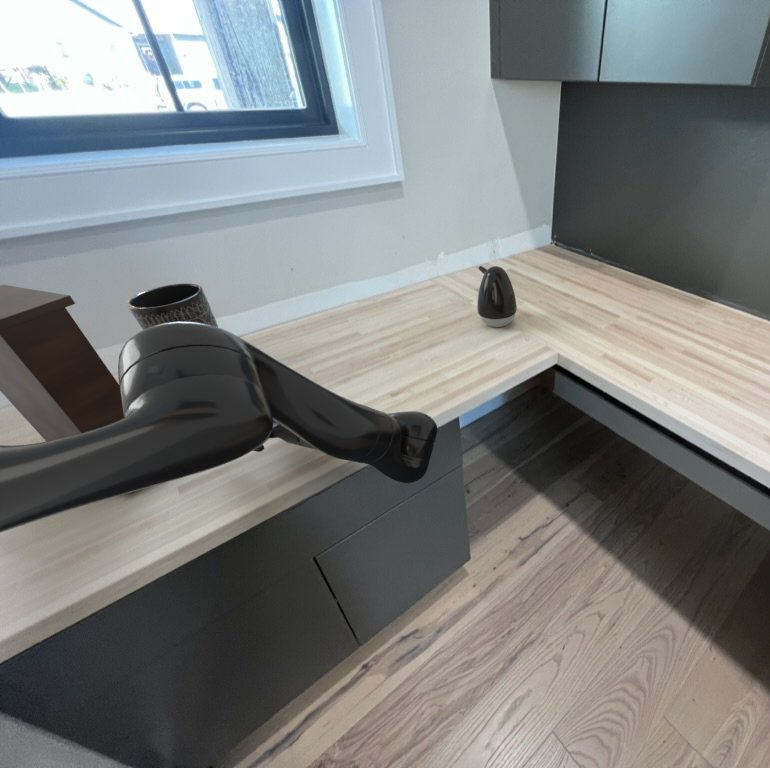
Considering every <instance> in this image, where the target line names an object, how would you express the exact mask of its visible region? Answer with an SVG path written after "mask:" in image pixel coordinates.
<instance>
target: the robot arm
mask: <svg viewBox="0 0 770 768" xmlns="http://www.w3.org/2000/svg"><path fill="white" fill-rule="evenodd" d="M117 363H118V365H117V370H118V371H117V372H118V373H117V375H118V376H117V377H118V384H119V385H120V390H121V398H122V405H123V413H124V418H123V419H121V420H119V421H116V422H114V423H112V424H109V425H106V426H103V427H101V428H98V429H94V430H91V431H87V432H84V433H80V434H76V435H72V436H68V437H63V438H59V439H54V440H50V441H41V442H36V443H35V442H34V443H30V444H28V443H27V444H18V445H17V444H15V445H7V444H6V445H4V444H3V445H2V444H0V534H1V533H4V532H7V531H10V530H13V529H15V528H18V527H22V526H25V525H28V524H30V523H34V522H37V521H40V520H42V519H45V518H49V517H51V516H55V515H59V514H61V513H65V512H68V511H71V510H74V509H78V508H81V507H85V506H88V505H91V504H95V503H98V502H99V503H100V502H102V501H106V500H109V499H112V498H116V497H119V496H123V495H126V494H132V493H131V492H133V493H135V492H138V491H141V490H144V489H145V490H146V489H147V488H152V487H155V486H159V485H162V484H166V483H169V482H172V481H173V482H174V481H177V480H179V479H183V478H187V477H189V476H193V475H196V474H197V475H198V474H199V473H203V472H207V471H209V470H212V469H216V468H219V467H221V466H223V465H227V464H229V463H232V462H233V461H236V460H238V459H241V458H242V457H244V456H246V455H248V454H250V453H251V452H257V453H260V452H263V451H264V450H265V446H264V444H265V443H266V442H267V441H268V440H269V439H280V440H281V441H284V442H286V443H288V444H292V445H296V446H300V447H304V448H308V449H311V450H315V451H319V452H321V453H323V454H324V455H327V456H330V457H332V458H335V459H337V460H343V461H348V462H354V463H360V464H365V465H370V466H371V467H373V468H375V469H377V471H379V472H380V473H381V474H383V475H384V476H386V477H388V478H389V479H391V480H392V481H396V482H399V483H403V484H412V483H415V482H418V481H420V480H421V479H422V478H423V477H424V476H425V475H426V473H427V471H428V468H429V465H430V460H431V457H432V453H433V450H434V446H435V442H436V438H437V435H438V425H437V423H436V421H435V420H434V418H432V417H431V415H428V414H426V413H424V412H420V411H413V410H412V411H411V410H410V411H399V412H398V411H397V412H390V413H389V412H388V413H386V412H384V411H381V410H379V409H375V408H372V407H370V406H367V405H364V404H362V403H359V402H356V401H354V400H351V399H349V398H346V397H344V396H341V395H340V394H337V393H335V392H333V391H331V390H330V389H328V388H326V387H324V386H322V385H320V384H319V383H317V382H315V381H313V380H312V379H310V378H308V377H307V376H305V375H303V374H301V373H300V372H298V371H296V370H295V369H293V368H291V367H289V366H288V365H286V364H284V363H283V362H281V361H279V360H278V359H276V358H274V357H272V356H271V355H269V354H268V353H266V352H265V351H263V350H261V349H260V348H258V347H257V346H255V345H254V344H252V343H250V342H248V341H247V340H246V339H243V338H241V337H240V336H238V335H236V334H234V333H232V332H230V331H228V330H226V329H223V328H221V327H219V326H218V327H215V326H212V325H209V324H203V323H198V322H181V321H178V322H168V323H163V324H159V325H155V326H152V327H149V328H147V329H145V330H143V329H142V330H140V331H139V332H137V333H135V334H134V335H132V336H131V337H130V338H129V339H128V340H127V341H126V342H125V343H124V345H123V346H122V348H121V350H120V353H119V355H118V362H117ZM134 491H135V492H134Z"/></svg>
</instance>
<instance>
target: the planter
mask: <svg viewBox="0 0 770 768" xmlns="http://www.w3.org/2000/svg"><path fill="white" fill-rule="evenodd" d="M126 307H127V308H128V310H129V312H130V313H131V314H132V316H133V317H134V318H135V320H136V322H138V324H139V325H138V326H140V328H141V329H142V330H145V329H147V328H149V327H152V326H155V325H159V324H163V323H168V322H178V321H181V322H198V323H203V324H209V325H212V326H215V327H218V328H219V324H218V323H217V320H216V318H215V316H214V313H213V311H212V308H211V306H210V303H209V301H208V298H207V296H206V294H205V292H204V289H203V287H202V286H201V285H199V284H197V283H191V282H190V283H185V282H184V283H173V284H168V285H163V286H159V287H154V288H151V289H147V290H145V291H142V292H139V293H138V294H136V295H134V296H132V297H131V298H130V299H128V300H127V302H126Z"/></svg>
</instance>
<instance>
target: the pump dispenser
mask: <svg viewBox="0 0 770 768" xmlns="http://www.w3.org/2000/svg"><path fill="white" fill-rule="evenodd" d="M478 270H479V271H480V272H481V273H482V274H483V276H482V279H481V281H480V285H479V289H478V295H477V308H476V309H477V313H478V315H479V317H480V319H481V321H482V322H483V324H485V325H487V326H489V327H492V328H502V327H505V326H507V325H510V323H511V322H512V321H513V320H514V318H515V315H516V313H517V310H518V307H517V300H516V294H515V291H514V286H513V284H512V281H511V279H510V277H509V275H508V273H507V271H506V270H505V269H504V268H502V267H501V266H497V265H493V266H490V267H489V268H488V269H487V268H485V267H484V266H482V265H479V266H478Z"/></svg>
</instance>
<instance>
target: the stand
mask: <svg viewBox="0 0 770 768" xmlns="http://www.w3.org/2000/svg"><path fill="white" fill-rule="evenodd" d="M74 305H76V302H75V301H74V299H73V298H72V296H71V295H69V294H63V293H58V292H57V293H56V292H51V291H44V290H39V289H33V288H26V287H20V286H14V285H7V284H1V285H0V392H1V394H3V396H4V397H5V398H6V399H7V400H8V402H10V403H11V405H12V406H13V407H14V408H15V409H16V410H17V411H18V412H19V413H20V414H21V415H22V417H23V418H24V419H25V420H26V421H27V422H28V423H29V424H30V425H31V426H32V427H33V429H34V430H35V431H36V432H37V433H38V434H39V435H40V436H41V438H42V439H43V440H44V442H46V441H50V440H54V439H59V438H63V437H68V436H72V435H76V434H80V433H84V432H87V431H91V430H94V429H98V428H101V427H103V426H106V425H109V424H112V423H114V422H116V421H119V420H121V419H123V418H124V413H123V405H122V398H121V390H120V385H119V382H118V381H117V380H116V378H115V377H114V376H113V374H112V372H111V370H110V369H109V368H108V367H107V365H106V364H105V362H104V361H103V359H102V358H101V356H100V355H99V354H98V352H97V351H96V349H95V348H94V347H93V345H92V344H91V342H90V341H89V339H88V338H87V336H86V335H85V334H84V332H83V331H82V329H81V328H80V327H79V326H78V325H79V324H77V322H76V321H75V319H74V318H73V317H72V315H71V314H70V312H69V311H68V310H67V308H68V307H70V306H71V307H72V306H74ZM135 492H136V491H134V492H131V493H130V494H133V493H135Z"/></svg>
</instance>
